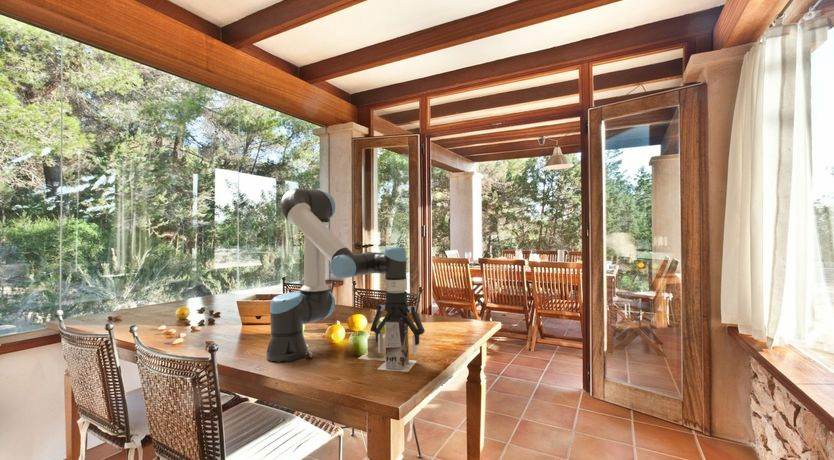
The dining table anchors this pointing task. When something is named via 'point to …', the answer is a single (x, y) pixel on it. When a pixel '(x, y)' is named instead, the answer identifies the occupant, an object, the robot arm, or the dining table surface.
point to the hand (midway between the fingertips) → (397, 352)
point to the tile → (406, 369)
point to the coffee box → (396, 343)
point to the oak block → (375, 347)
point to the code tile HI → (372, 358)
